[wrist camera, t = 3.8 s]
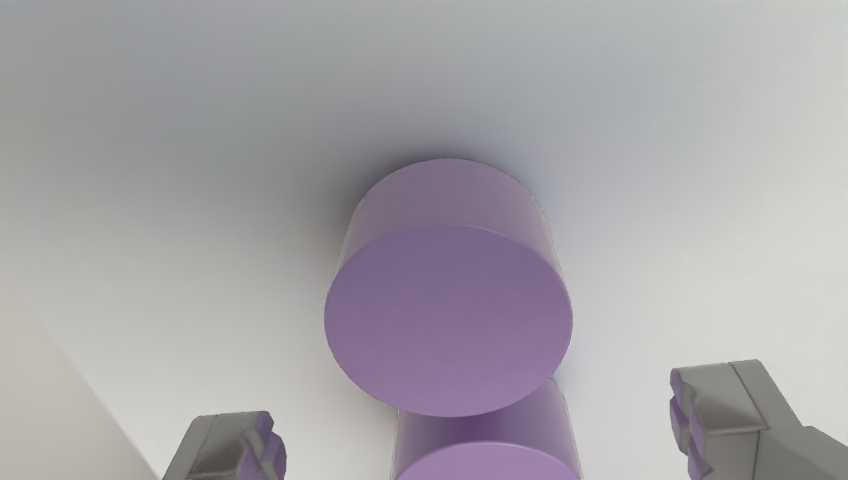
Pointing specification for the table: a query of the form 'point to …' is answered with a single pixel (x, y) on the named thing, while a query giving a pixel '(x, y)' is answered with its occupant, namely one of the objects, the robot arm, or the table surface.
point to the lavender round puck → (448, 291)
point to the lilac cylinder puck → (490, 443)
